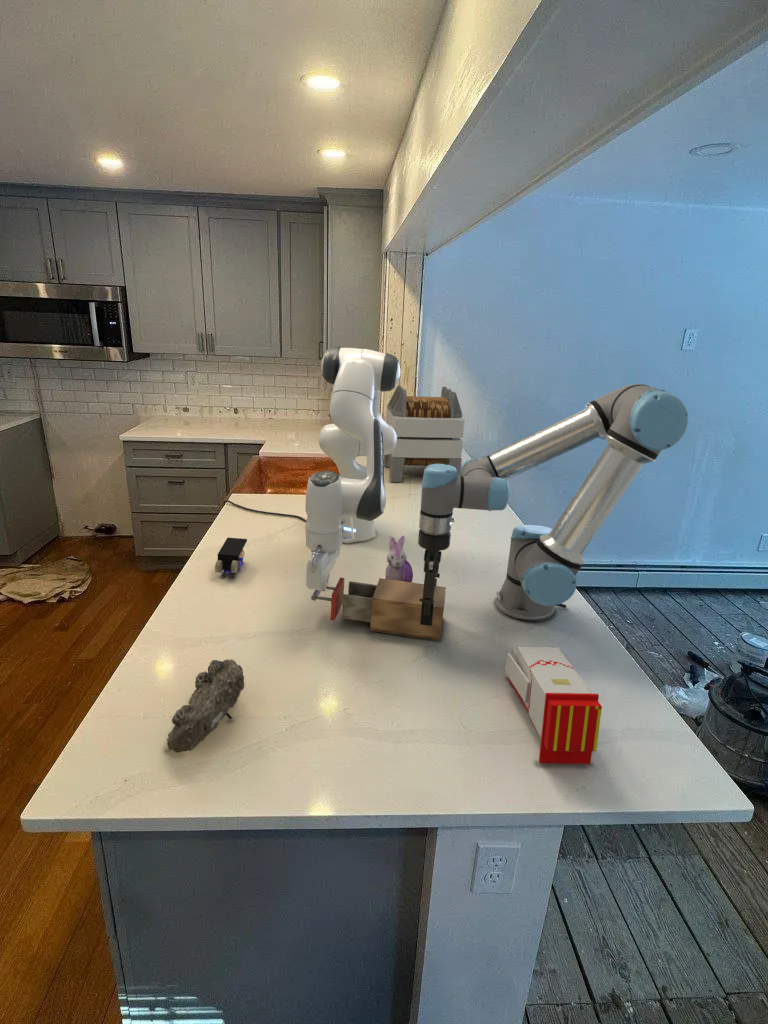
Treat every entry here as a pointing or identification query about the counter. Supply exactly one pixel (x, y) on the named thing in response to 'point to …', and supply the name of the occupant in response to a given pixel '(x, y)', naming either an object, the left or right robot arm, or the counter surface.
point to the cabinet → (405, 609)
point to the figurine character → (230, 556)
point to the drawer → (350, 600)
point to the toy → (556, 704)
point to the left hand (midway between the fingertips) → (323, 588)
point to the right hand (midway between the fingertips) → (427, 612)
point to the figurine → (398, 562)
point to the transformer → (424, 431)
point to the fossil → (206, 705)
